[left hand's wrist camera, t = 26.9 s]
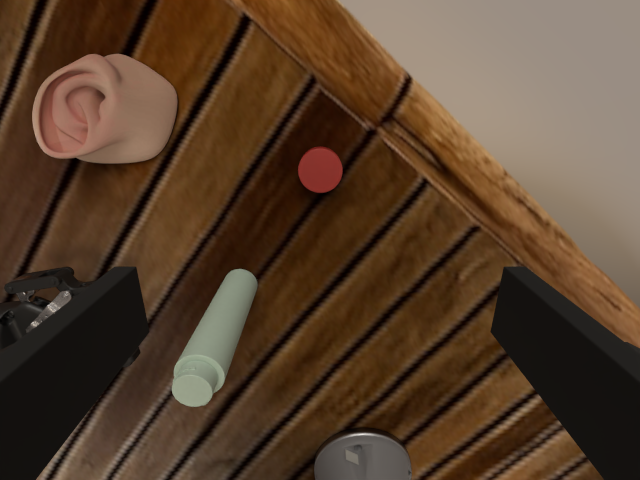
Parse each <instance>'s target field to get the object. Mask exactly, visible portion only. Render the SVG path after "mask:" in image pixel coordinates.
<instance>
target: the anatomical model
mask: <svg viewBox="0 0 640 480" xmlns="http://www.w3.org/2000/svg"><path fill="white" fill-rule="evenodd" d="M177 105H178V100H177V94H176V91H175V89H174V87H173V86H172V85H171V84H170V83H169V82H168V81H167V80H166V79H164V78H163V77H162V76H161V75H159V74H158V73H156V72H155V71H153V70H152V69H150V68H149V67H147V66H146V65H144V64H143V63H141V62H138V61H136V60H134V59H132V58H130V57H128V56H126V55H122V54H112V55H108V56H105V57H102V56H100V55H97V54H90V55H87V56H84V57H83V58H81V59H79V60H77V61H75V62H73V63H71V64H69V65H67V66H65V67H63V68H61V69H60V70H58V71H56V72H54V73H53V74H52V75H51V76H49V77H48V78H47V79H46V80H45V81H44V82H43V84H42V85H41V87H40V89H39V91H38V93H37V95H36V98H35V102H34V106H33V113H32V119H33V127H34V132H35V136H36V139H37V141H38V144H39V145H40V147H41V149H42V150H43V151H44V152H45V153H46V154H48V155H49V156H51V157H55V158H61V159H67V158H78V159H80V160H83V161H87V162H93V163H132V162H139V161H145V160H148V159H151V158H153V157H155V156H156V155H158V154H159V153H160V152H161V151H162V150H163V148H164V147H165V145H166V143H167V142H168V140H169V137H170V135H171V132H172V129H173V126H174V122H175V118H176V113H177Z"/></svg>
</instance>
